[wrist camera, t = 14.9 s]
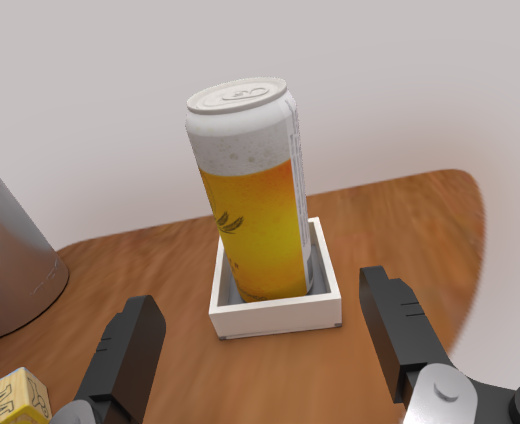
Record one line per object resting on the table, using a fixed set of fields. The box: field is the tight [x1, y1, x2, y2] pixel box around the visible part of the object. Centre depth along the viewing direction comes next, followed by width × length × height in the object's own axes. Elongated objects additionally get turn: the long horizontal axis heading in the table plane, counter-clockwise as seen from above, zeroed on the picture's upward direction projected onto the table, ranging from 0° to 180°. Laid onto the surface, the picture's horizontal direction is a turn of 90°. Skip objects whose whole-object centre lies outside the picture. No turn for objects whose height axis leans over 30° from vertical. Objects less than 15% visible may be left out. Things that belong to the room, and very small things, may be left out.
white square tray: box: [209, 217, 342, 340], centre depth 24 cm, size 9×9×3 cm
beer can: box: [185, 77, 314, 303], centre depth 20 cm, size 6×6×15 cm
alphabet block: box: [0, 367, 52, 424], centre depth 19 cm, size 3×3×3 cm
